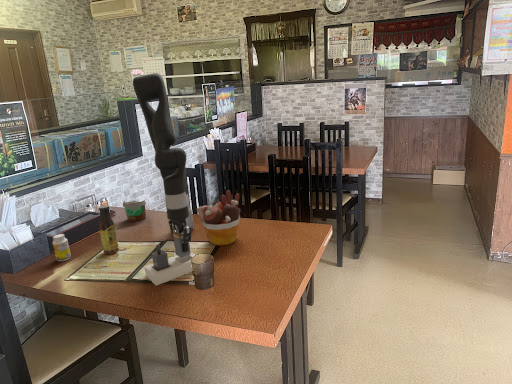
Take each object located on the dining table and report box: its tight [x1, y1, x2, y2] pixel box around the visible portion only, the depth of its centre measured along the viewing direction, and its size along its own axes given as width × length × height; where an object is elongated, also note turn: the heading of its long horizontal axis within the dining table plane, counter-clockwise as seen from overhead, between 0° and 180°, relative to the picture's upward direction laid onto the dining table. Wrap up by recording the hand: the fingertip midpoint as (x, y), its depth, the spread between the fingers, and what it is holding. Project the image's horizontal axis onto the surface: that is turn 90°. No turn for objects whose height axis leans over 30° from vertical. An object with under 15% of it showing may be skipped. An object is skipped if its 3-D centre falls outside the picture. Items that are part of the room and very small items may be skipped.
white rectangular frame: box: [144, 244, 196, 287], centre depth 140 cm, size 18×9×12 cm, turn 127°
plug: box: [172, 233, 192, 258], centre depth 141 cm, size 4×4×8 cm
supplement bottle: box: [52, 233, 72, 262], centre depth 159 cm, size 6×6×10 cm
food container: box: [122, 199, 147, 223], centre depth 200 cm, size 12×6×10 cm, turn 80°
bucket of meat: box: [196, 189, 241, 247], centre depth 165 cm, size 20×16×20 cm
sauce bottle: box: [98, 204, 119, 255], centre depth 162 cm, size 6×6×20 cm
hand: (182, 249), depth 142 cm, fingers closed on plug, 4 cm apart
